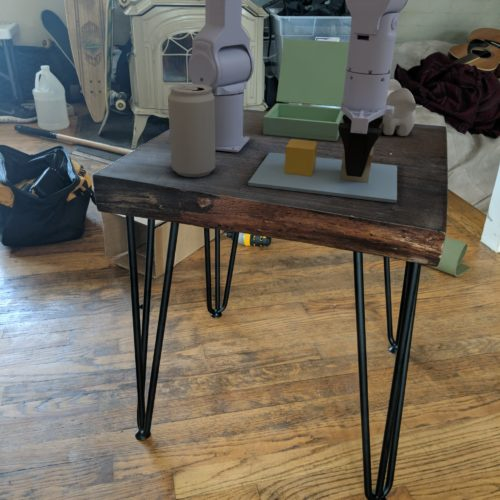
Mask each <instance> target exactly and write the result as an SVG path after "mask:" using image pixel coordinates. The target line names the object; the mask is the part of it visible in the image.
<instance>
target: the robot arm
mask: <svg viewBox="0 0 500 500" xmlns="http://www.w3.org/2000/svg"><path fill="white" fill-rule="evenodd" d="M408 2H409V0H345V5H346V8H347V10H348V12H349V14H350V18H351V21H350V31H349V41H348V42H349V50H348V59H347V68H346V76H345V85H344V94H343V102H342V103H341V107H339V108H340V109H341V111H342V112H343V113H344V115H343V117H342V118H343V123H339V126H338V131H339V136H340V138H341V142H342V146H343V151H344V153H345V168H346V174H347V176H354V177H362V175H363V172H364V170H365V167H366V164H367V160H368V157H369V154H370V152H371V149H372V147H374V145H375V144H376V142H377V140H378V139H379V138H380V137H381V135H382V134H383V129H380V128H379V126H380V124H381V123H382V122H383V115H384V114H393V113H394V106H388V105H386V100H387V94H388V87H389V80H390V79H391V73H392V66H393V59H394V54H395V53H394V52H395V46H396V41H397V34H398V33H397V32H398V25H399V19H400V12H402V11H403V9H404V8H405V7H406V5H407V4H408ZM204 3H205V4H204V5H205V9H204V10H205V11H204V12H205V15H204V16H205V17H204V19H205V21H204V22H205V24H204V25H203V27H202V28H201V29H200V30H199V31H198V32H197V34H196V35H195V36H194V37H193V39H192V42H191V45H192V47H191V54H190V57H189V59H188V62H187V63H188V65H187V67H188V68H187V69H188V70H187V71H188V75H189V79H190V81H191V84H200V85H207V86H210V87H211V88H212V91H211V92H212V94H213V95H214V97H215V151H219V152H228V153H229V152H230V153H239V152H240V151H241V150H242V148H244V146H245V145H246V144H247V143H248V142H249V141H250V136H246V135H245V136H244V103H245V102H244V100H245V97H244V96H245V90H246V89H247V83H248V82H249V81H250V80H251V78H252V76H253V74H254V70H255V62H254V57H253V55H252V50H251V38H250V36H249V34H248V33H247V32H246V30H245V29H244V28H243V26H242V16H243V15H242V14H243V0H204Z"/></svg>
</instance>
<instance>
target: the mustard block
mask: <svg viewBox="0 0 500 500" xmlns="http://www.w3.org/2000/svg"><path fill="white" fill-rule="evenodd" d="M318 144H319V142H318V141H317V140H316V141H315V140H308V139H307V140H306V139H298V138H291V139H290V140H289V141H288V143H287V144H286V146H285V154H286V155H285V171H284V173H286V174H295V175H304V176H312V174H313V172H314V170H315V167H316V157H318V156H317V155H318V146H319V145H318Z"/></svg>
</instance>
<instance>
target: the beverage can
mask: <svg viewBox="0 0 500 500" xmlns="http://www.w3.org/2000/svg"><path fill="white" fill-rule="evenodd" d="M169 91H170V92H169V94H168V96H167V109H168V123H169V124H168V125H169V126H168V127H169V145H170V164H171V165H170V166H171V169H172V170H173V171H174V172H176V174H177V175H180V176H182V177H187V178H201V177H204V176H208V175H210V174H211V173H212V171H214V170H215V169H216V150H215V97H214V95H213V94H212V92H211V91H212V88H211V87H210V86H207V85H200V84H193V83H183V84H175V85H172V86H170V87H169Z"/></svg>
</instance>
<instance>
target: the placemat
mask: <svg viewBox="0 0 500 500" xmlns="http://www.w3.org/2000/svg"><path fill="white" fill-rule="evenodd" d="M285 155H286V153H281V152H271V151H270V152H269V153H268V154H267V155H266V157H265V158H264V160H263V161H262V162H261V163H260V165H259V166H258V168H257V169H256V170H255V172H254V173H253V175H252V176H251V178H250V179H249V180H248V182H247V186H250V187H258V188H259V187H260V188H265V189H273V190H274V189H275V190H283V191H291V192H300V193H306V194H307V193H308V194H314V195H315V194H317V195H324V196H334V197H341V198H349V199H358V200H367V201H374V202H382V203H391V204H397V201H398V165H396V164H395V165H394V164H384V163H375V162H371V169H370V176H369V182H368V183H365V182H357V181H348V180H340V173H341V164H342V159H337V158H326V157H319V156H317V157H316V167H315V170H314V172H313V174H312V176H304V175H295V174H286V173H284V171H285Z"/></svg>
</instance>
